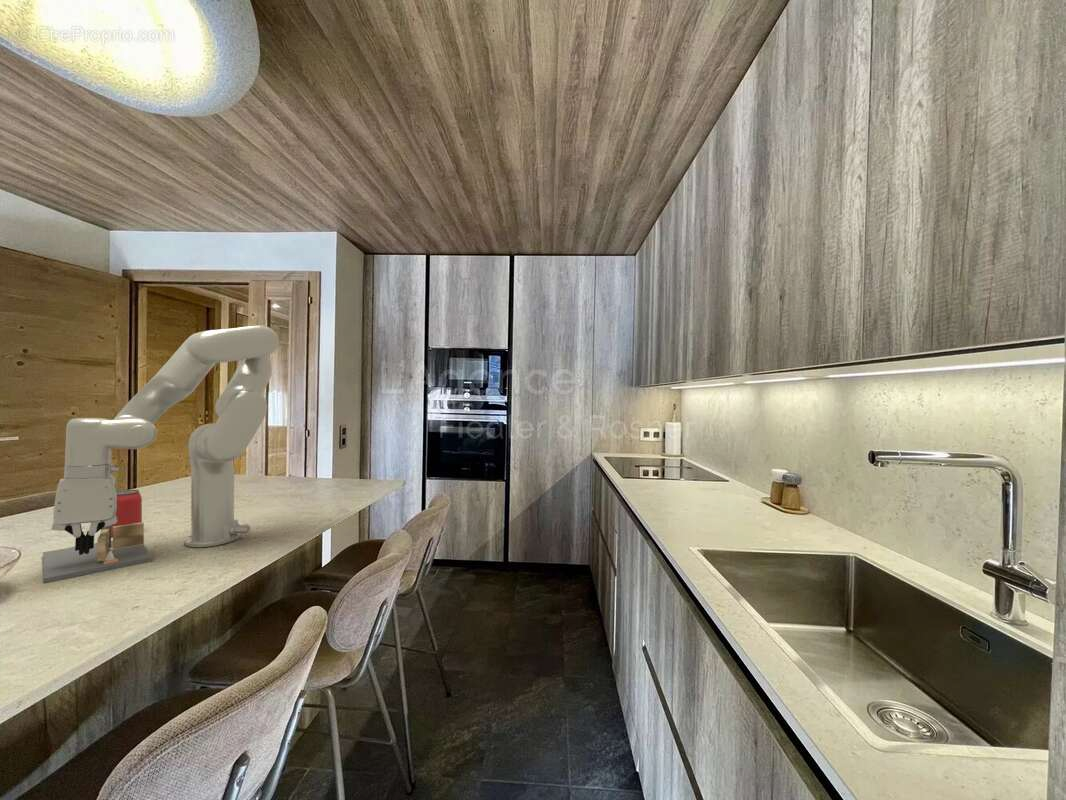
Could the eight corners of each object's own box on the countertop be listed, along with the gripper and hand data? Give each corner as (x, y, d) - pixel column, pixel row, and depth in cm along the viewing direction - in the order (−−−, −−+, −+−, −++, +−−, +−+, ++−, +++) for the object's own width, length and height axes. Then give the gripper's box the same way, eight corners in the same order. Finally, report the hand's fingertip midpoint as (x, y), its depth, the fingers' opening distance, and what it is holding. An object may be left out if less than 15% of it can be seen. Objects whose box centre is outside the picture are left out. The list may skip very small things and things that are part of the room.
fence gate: (101, 548, 112) (101, 526, 111) (111, 546, 113) (111, 524, 113) (95, 562, 103) (95, 537, 103) (106, 560, 104) (106, 536, 104)
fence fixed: (143, 543, 117) (142, 522, 117) (143, 544, 116) (143, 522, 116) (113, 548, 113) (112, 526, 113) (113, 549, 112) (113, 527, 112)
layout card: (138, 539, 123) (138, 535, 123) (152, 560, 108) (151, 556, 108) (43, 556, 110) (42, 551, 110) (43, 583, 95) (43, 577, 95)
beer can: (127, 538, 124) (127, 494, 123) (103, 537, 124) (103, 494, 124) (148, 530, 130) (148, 489, 130) (125, 530, 130) (125, 488, 130)
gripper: (131, 467, 111) (128, 542, 111) (42, 472, 101) (38, 554, 101) (131, 472, 106) (128, 551, 105) (37, 477, 96) (33, 564, 96)
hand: (84, 552), depth 103 cm, fingers closed
